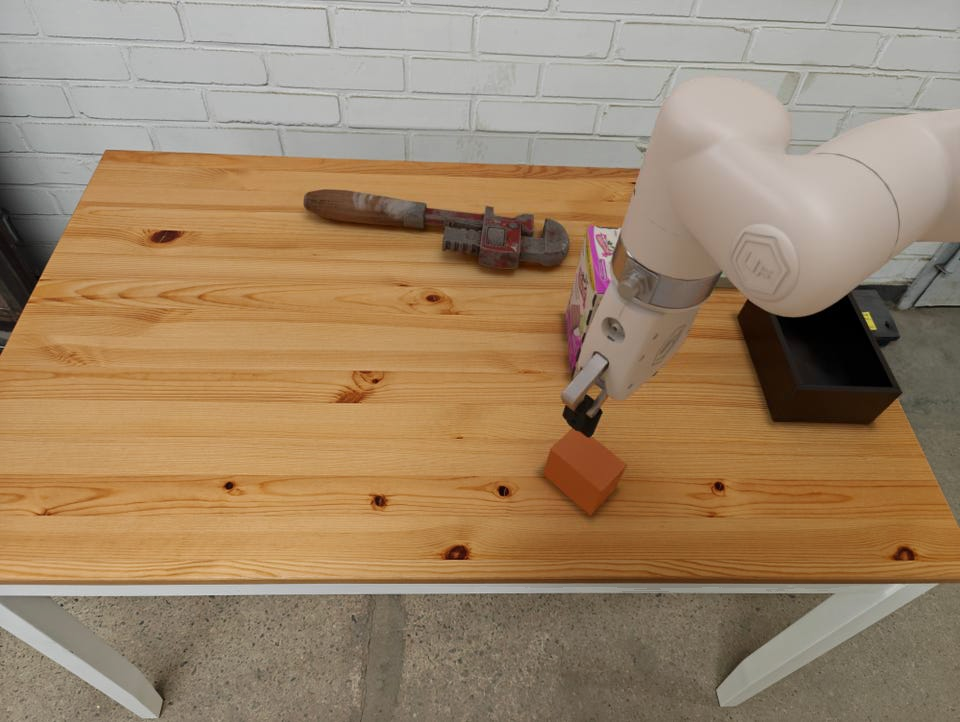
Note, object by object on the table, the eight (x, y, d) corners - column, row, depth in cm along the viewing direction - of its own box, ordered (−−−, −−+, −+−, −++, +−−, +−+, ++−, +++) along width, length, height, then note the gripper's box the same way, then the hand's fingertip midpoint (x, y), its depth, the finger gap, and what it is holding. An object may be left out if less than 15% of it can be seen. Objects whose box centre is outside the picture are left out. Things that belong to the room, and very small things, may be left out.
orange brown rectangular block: (614, 490, 71) (627, 464, 67) (590, 515, 69) (601, 491, 64) (567, 450, 74) (576, 423, 69) (542, 474, 72) (550, 448, 67)
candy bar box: (562, 315, 87) (585, 223, 74) (598, 317, 87) (627, 225, 74) (568, 381, 80) (595, 292, 67) (607, 382, 81) (641, 294, 68)
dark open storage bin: (870, 424, 79) (903, 392, 74) (772, 421, 78) (798, 389, 73) (822, 319, 90) (848, 285, 84) (736, 316, 89) (757, 281, 84)
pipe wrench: (567, 228, 99) (573, 202, 95) (567, 284, 91) (573, 258, 87) (312, 201, 99) (307, 174, 95) (290, 255, 91) (284, 228, 87)
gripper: (638, 357, 39) (583, 480, 53) (772, 234, 47) (694, 368, 61) (547, 291, 42) (517, 424, 56) (688, 185, 50) (632, 324, 64)
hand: (610, 395), depth 58 cm, fingers open, 9 cm apart
